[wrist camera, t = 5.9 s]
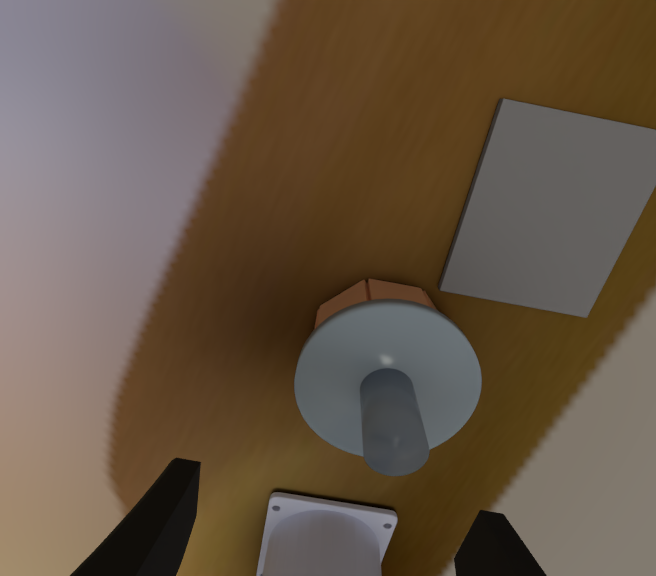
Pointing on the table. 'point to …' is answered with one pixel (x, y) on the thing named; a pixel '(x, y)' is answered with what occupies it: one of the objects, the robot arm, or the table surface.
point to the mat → (550, 208)
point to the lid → (387, 382)
